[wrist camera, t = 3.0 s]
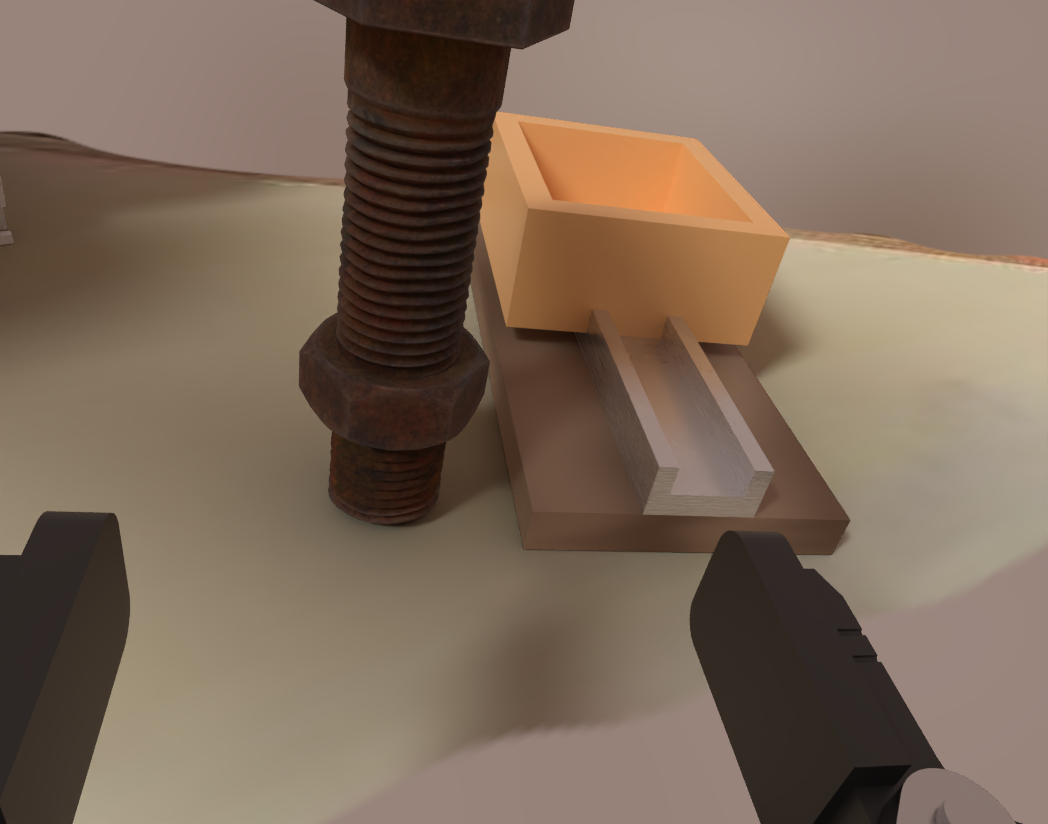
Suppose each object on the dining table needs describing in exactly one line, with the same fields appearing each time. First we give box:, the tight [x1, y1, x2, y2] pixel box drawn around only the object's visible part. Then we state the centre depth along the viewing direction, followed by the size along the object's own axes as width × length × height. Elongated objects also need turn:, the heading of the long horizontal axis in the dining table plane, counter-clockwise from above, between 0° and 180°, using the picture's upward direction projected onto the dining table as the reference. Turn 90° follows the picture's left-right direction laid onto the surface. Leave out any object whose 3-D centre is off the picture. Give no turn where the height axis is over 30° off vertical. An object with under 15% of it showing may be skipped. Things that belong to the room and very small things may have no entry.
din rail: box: [575, 309, 775, 518], centre depth 31 cm, size 4×20×2 cm, turn 8°
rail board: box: [470, 221, 850, 555], centre depth 32 cm, size 10×20×2 cm, turn 9°
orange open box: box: [480, 112, 790, 346], centre depth 33 cm, size 10×10×4 cm
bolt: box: [299, 0, 574, 524], centre depth 20 cm, size 6×5×15 cm
